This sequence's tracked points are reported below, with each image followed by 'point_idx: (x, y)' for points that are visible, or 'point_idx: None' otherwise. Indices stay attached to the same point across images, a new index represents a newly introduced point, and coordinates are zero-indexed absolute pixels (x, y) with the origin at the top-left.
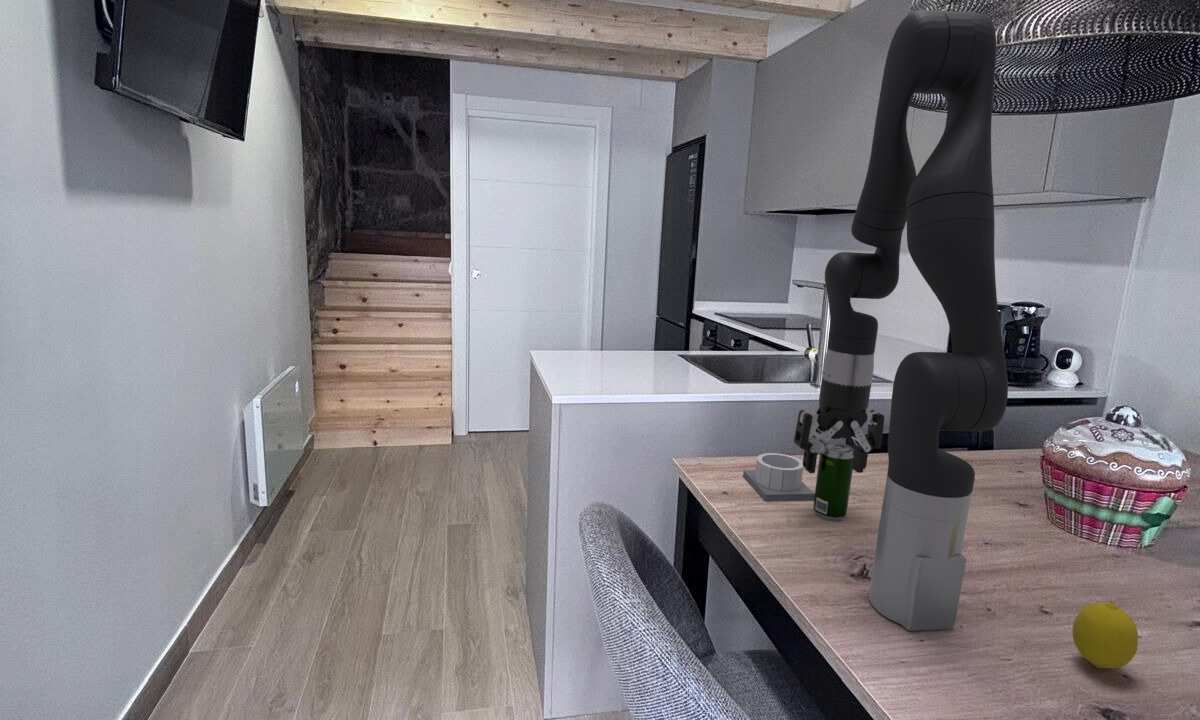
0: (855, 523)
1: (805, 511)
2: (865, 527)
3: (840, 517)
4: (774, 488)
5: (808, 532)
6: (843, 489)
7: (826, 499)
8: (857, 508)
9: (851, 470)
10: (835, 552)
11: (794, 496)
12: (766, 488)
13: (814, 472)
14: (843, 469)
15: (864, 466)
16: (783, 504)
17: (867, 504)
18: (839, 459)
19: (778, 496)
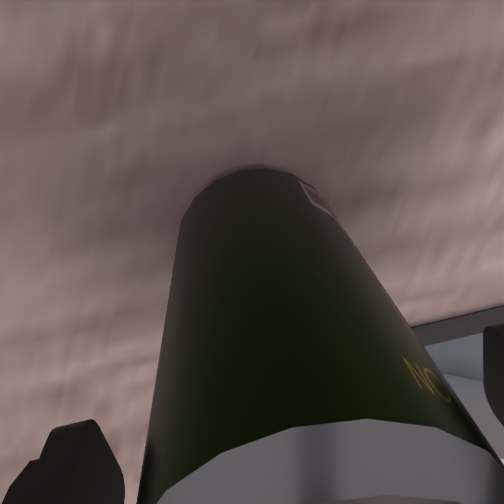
0: (147, 165)
1: (361, 244)
2: (102, 128)
3: (223, 178)
4: (467, 381)
5: (432, 4)
6: (235, 242)
7: (324, 212)
8: (104, 323)
9: (176, 368)
10: None
11: None
12: None
13: (491, 326)
14: (281, 329)
15: (26, 483)
16: (437, 291)
17: (50, 368)
18: (375, 411)
19: (459, 331)
